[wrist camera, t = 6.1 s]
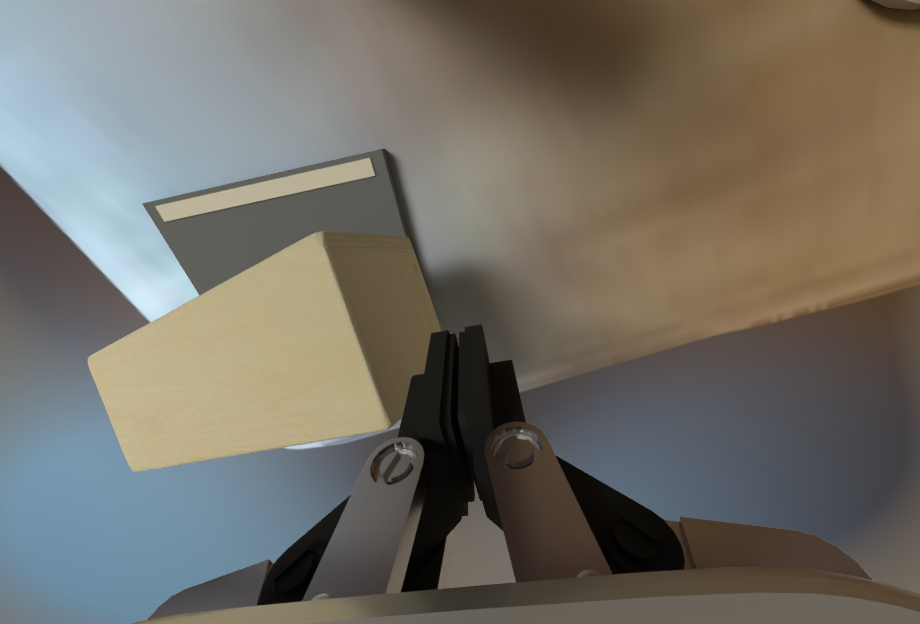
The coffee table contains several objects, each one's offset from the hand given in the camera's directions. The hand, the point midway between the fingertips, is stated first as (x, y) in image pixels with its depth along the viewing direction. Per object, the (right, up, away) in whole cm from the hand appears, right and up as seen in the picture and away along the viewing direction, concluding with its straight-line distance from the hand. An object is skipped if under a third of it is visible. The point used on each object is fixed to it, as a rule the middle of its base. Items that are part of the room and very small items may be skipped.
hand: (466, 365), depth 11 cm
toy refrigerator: (-2, +2, +4) cm, 5 cm away
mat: (-11, +4, +13) cm, 18 cm away
